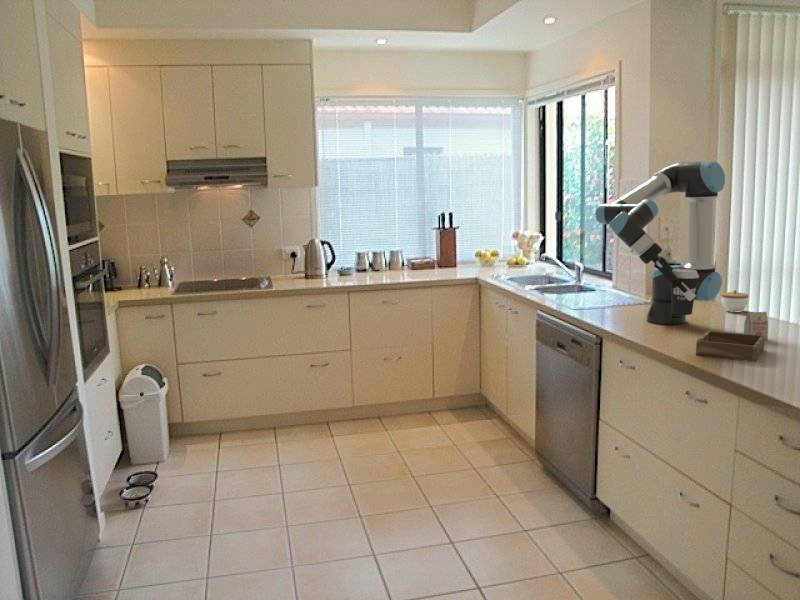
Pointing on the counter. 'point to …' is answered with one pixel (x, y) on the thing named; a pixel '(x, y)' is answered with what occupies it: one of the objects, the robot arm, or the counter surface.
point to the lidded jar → (734, 301)
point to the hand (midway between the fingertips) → (692, 296)
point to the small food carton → (756, 324)
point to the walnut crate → (730, 345)
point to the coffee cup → (677, 298)
